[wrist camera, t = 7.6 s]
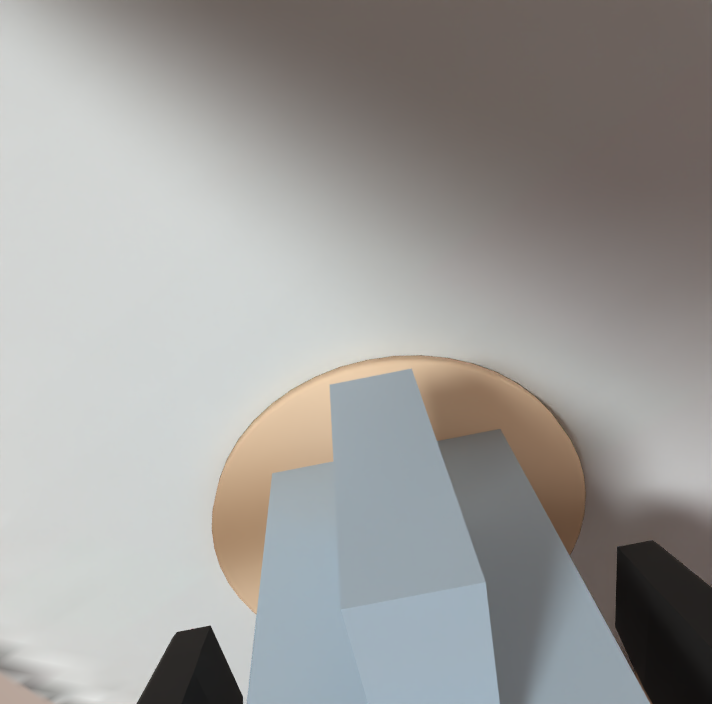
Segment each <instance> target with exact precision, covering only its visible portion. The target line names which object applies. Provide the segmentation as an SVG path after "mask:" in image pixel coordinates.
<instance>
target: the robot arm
mask: <svg viewBox="0 0 712 704" xmlns="http://www.w3.org/2000/svg"><path fill="white" fill-rule="evenodd" d="M615 627H616V629H617V631H618V633H619V636H620V638H621V640H622V642H623V645H624V647H625V649H626V651H627V653H628V656H629V658H630V660H631V662H632V664H633V667H634V669H635V671H636V673H637V675H638V677H639V679H640V681H641V683H642V686H643V688H644V690H645V691H646V693H647V695H648V697H649V698H650V700H651V702H652V704H712V587H710V586H709V585H708V584H707V583H705V582H704V581H703V580H702V579H700V578H699V577H698V576H697V575H695V574H694V573H693V572H692V571H691V570H689V569H688V568H687V567H686V566H684V565H683V564H682V563H681V562H679V561H678V560H677V559H676V558H675V557H673V556H672V555H671V554H670V553H668V552H667V551H666V550H665V549H664V548H662V547H661V546H660V545H659V544H657V543H656V542H654V541H653V540H652V541H646V542H641V543H636V544H631V545H626V546H621V547H617V580H616V620H615ZM137 704H243V696H242V694H241V692H240V689H239V687H238V685H237V683H236V681H235V678H234V676H233V674H232V672H231V670H230V667H229V665H228V663H227V661H226V659H225V656H224V654H223V652H222V650H221V648H220V645H219V643H218V641H217V639H216V637H215V634H214V632H213V630H212V628H211V626H206V627H201V628H196V629H191V630H185V631H180V632H177V633H176V634H175V635H174V637H173V638H172V640H171V642H170V644H169V645H168V647H167V649H166V651H165V653H164V655H163V656H162V658H161V660H160V662H159V664H158V666H157V668H156V669H155V671H154V673H153V675H152V677H151V679H150V680H149V682H148V684H147V686H146V688H145V690H144V691H143V693H142V695H141V697H140V699H139V700H138V702H137Z"/></svg>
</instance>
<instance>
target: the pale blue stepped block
mask: <svg viewBox="0 0 712 704" xmlns="http://www.w3.org/2000/svg"><path fill="white" fill-rule="evenodd" d="M330 403H331V423H332V443H333V462H328V463H322V464H317V465H312V466H307V467H302V468H297V469H292V470H287V471H282V472H276V473H272V480H271V489H270V498H269V507H268V516H267V525H266V534H265V543H264V552H263V561H262V570H261V579H260V588H259V598H258V607H257V616H256V625H255V634H254V643H253V652H252V661H251V670H250V679H249V688H248V697H247V704H650V702H649V701H648V699H647V697H646V695H645V693H644V691H643V690H642V688H641V686H640V684H639V682H638V680H637V679H636V677H635V675H634V673H633V671H632V669H631V668H630V666H629V664H628V662H627V660H626V658H625V657H624V655H623V653H622V651H621V649H620V647H619V646H618V644H617V642H616V640H615V638H614V636H613V635H612V633H611V631H610V629H609V627H608V625H607V624H606V622H605V620H604V618H603V616H602V614H601V613H600V611H599V609H598V607H597V605H596V603H595V602H594V600H593V598H592V596H591V594H590V592H589V591H588V589H587V587H586V585H585V583H584V581H583V580H582V578H581V576H580V574H579V572H578V570H577V569H576V567H575V565H574V563H573V561H572V559H571V557H570V556H569V554H568V552H567V550H566V548H565V546H564V545H563V543H562V541H561V539H560V537H559V535H558V534H557V532H556V530H555V528H554V526H553V524H552V523H551V521H550V519H549V517H548V515H547V513H546V512H545V510H544V508H543V506H542V504H541V502H540V501H539V499H538V497H537V495H536V493H535V491H534V490H533V488H532V486H531V484H530V482H529V480H528V479H527V477H526V475H525V473H524V471H523V469H522V468H521V466H520V464H519V462H518V460H517V458H516V457H515V455H514V453H513V451H512V449H511V447H510V446H509V444H508V442H507V440H506V438H505V436H504V435H503V433H502V431H501V429H496V430H491V431H486V432H481V433H476V434H471V435H466V436H461V437H456V438H450V439H445V440H440V441H437V440H436V437H435V434H434V431H433V429H432V426H431V423H430V420H429V417H428V414H427V411H426V408H425V405H424V403H423V400H422V397H421V394H420V391H419V388H418V385H417V382H416V379H415V377H414V374H413V371H412V368H411V369H406V370H401V371H396V372H391V373H386V374H381V375H376V376H371V377H366V378H361V379H356V380H351V381H346V382H341V383H335V384H330Z"/></svg>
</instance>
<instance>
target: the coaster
mask: <svg viewBox="0 0 712 704" xmlns="http://www.w3.org/2000/svg"><path fill="white" fill-rule="evenodd" d="M411 368H412V371H413V374H414V377H415V379H416V382H417V385H418V388H419V391H420V394H421V397H422V400H423V403H424V405H425V408H426V411H427V414H428V417H429V420H430V423H431V426H432V429H433V431H434V434H435V437H436V440H437V441H440V440H445V439H450V438H456V437H461V436H466V435H471V434H476V433H481V432H486V431H491V430H496V429H501V431H502V433H503V435H504V436H505V438H506V440H507V442H508V444H509V446H510V447H511V449H512V451H513V453H514V455H515V457H516V458H517V460H518V462H519V464H520V466H521V468H522V469H523V471H524V473H525V475H526V477H527V479H528V480H529V482H530V484H531V486H532V488H533V490H534V491H535V493H536V495H537V497H538V499H539V501H540V502H541V504H542V506H543V508H544V510H545V512H546V513H547V515H548V517H549V519H550V521H551V523H552V524H553V526H554V528H555V530H556V532H557V534H558V535H559V537H560V539H561V541H562V543H563V545H564V546H565V548H566V550H567V552H568V554H569V556H570V554H571V552H572V551H573V548H574V546H575V543H576V541H577V538H578V536H579V534H580V530H581V526H582V522H583V518H584V513H585V499H586V492H585V481H584V474H583V471H582V467H581V464H580V460H579V457H578V455H577V453H576V451H575V448H574V446H573V444H572V442H571V440H570V438H569V437H568V436H567V434H566V433H565V431H564V430H563V429H562V427H561V426H560V424H559V423H558V422H557V420H556V419H555V417H554V416H553V415H552V413H551V412H550V411H549V410H548V409H547V408H546V407H545V406H544V405H543V404H542V403H541V402H540V401H539V400H538V399H537V398H536V397H535V396H534V395H532V394H531V393H530V392H528V391H527V390H526V389H524V388H523V387H522V386H520V385H519V384H517V383H516V382H514V381H512V380H510V379H508V378H506V377H504V376H503V375H501V374H499V373H497V372H494V371H492V370H489V369H486V368H483V367H481V366H478V365H475V364H472V363H468V362H463V361H459V360H454V359H450V358H442V357H432V356H422V355H420V356H391V357H384V358H377V359H370V360H365V361H361V362H357V363H353V364H350V365H346V366H342V367H339V368H336V369H334V370H331V371H329V372H326V373H324V374H321V375H319V376H316V377H314V378H312V379H310V380H308V381H307V382H305V383H303V384H301V385H299V386H297V387H295V388H294V389H292V390H290V391H289V392H288V393H286V394H285V395H283V396H282V397H281V398H279V399H278V400H276V401H275V402H274V403H272V404H271V405H270V406H269V407H268V408H267V409H266V410H265V411H263V412H262V413H261V414H260V415H259V416H258V417H257V418H256V419H255V420H254V421H253V422H252V423H251V424H250V426H249V427H248V428H247V429H246V431H245V432H244V433H243V434H242V436H241V437H240V438H239V439H238V441H237V443H236V445H235V446H234V448H233V450H232V451H231V453H230V455H229V457H228V458H227V461H226V463H225V466H224V469H223V471H222V474H221V476H220V479H219V483H218V488H217V492H216V497H215V501H214V506H213V513H212V534H213V542H214V549H215V552H216V555H217V558H218V561H219V564H220V567H221V569H222V571H223V573H224V575H225V577H226V579H227V581H228V583H229V584H230V586H231V587H232V588H233V590H234V591H235V592H236V594H237V595H238V597H239V598H240V599H241V600H242V601H243V602H244V603H245V604H246V605H247V606H248V607H249V608H250V609H251V610H252V611H253V612H254V613H255V614H257V607H258V598H259V588H260V579H261V570H262V561H263V552H264V543H265V534H266V525H267V516H268V507H269V498H270V489H271V480H272V473H276V472H282V471H287V470H292V469H297V468H302V467H307V466H312V465H317V464H322V463H328V462H333V443H332V423H331V403H330V384H335V383H341V382H346V381H351V380H356V379H361V378H366V377H371V376H376V375H381V374H386V373H391V372H396V371H401V370H406V369H411Z"/></svg>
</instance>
